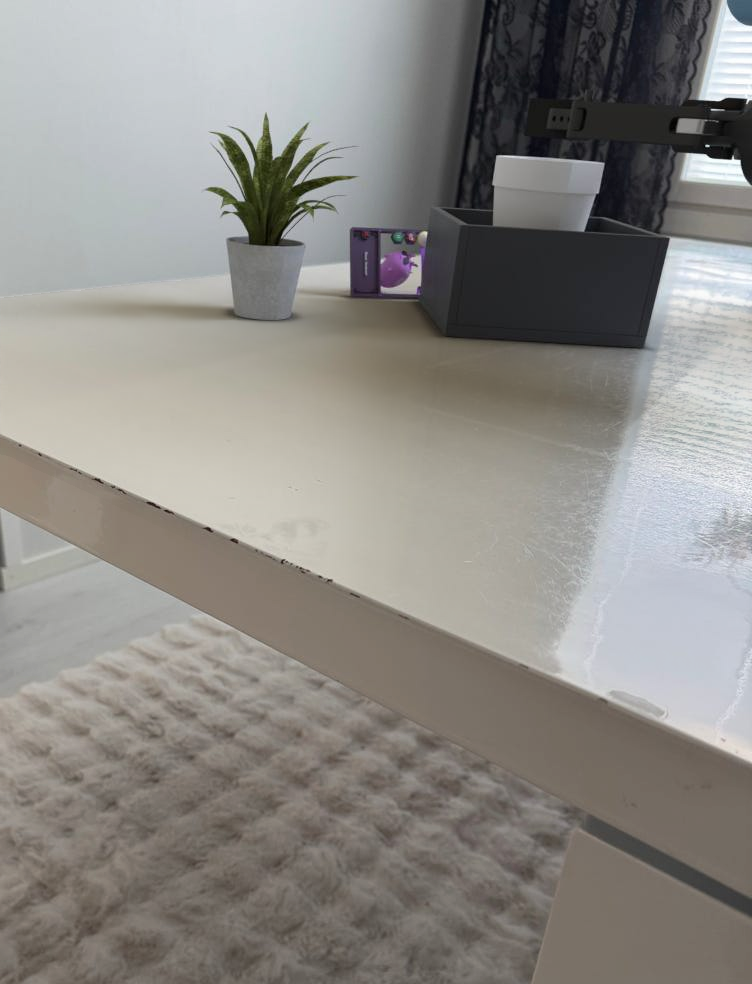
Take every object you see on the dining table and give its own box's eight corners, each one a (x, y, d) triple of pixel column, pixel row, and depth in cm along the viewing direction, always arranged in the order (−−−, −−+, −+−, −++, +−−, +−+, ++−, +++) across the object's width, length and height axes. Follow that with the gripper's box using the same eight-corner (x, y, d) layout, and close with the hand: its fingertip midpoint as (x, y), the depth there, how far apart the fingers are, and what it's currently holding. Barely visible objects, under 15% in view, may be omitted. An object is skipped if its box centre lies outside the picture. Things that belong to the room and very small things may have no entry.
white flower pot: (536, 302, 96) (563, 158, 90) (595, 321, 89) (628, 165, 82) (455, 303, 93) (476, 153, 87) (508, 322, 85) (536, 160, 79)
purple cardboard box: (353, 225, 97) (435, 228, 99) (337, 237, 102) (416, 240, 104) (353, 294, 98) (435, 296, 100) (338, 303, 103) (416, 305, 105)
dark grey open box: (586, 311, 99) (606, 217, 95) (643, 348, 84) (670, 237, 80) (418, 301, 99) (430, 206, 95) (444, 336, 83) (460, 224, 79)
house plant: (285, 340, 78) (300, 112, 70) (150, 315, 84) (150, 102, 76) (364, 318, 89) (384, 118, 81) (239, 297, 95) (247, 109, 87)
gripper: (688, 191, 61) (469, 166, 77) (904, 197, 73) (676, 175, 88) (721, 54, 57) (485, 57, 73) (943, 83, 69) (698, 81, 85)
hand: (589, 121), depth 81 cm, fingers open, 13 cm apart
